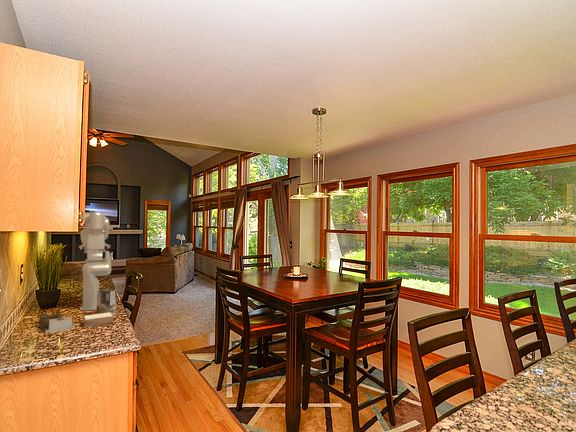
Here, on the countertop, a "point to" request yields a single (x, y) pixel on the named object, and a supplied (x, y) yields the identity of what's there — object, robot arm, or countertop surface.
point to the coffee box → (106, 302)
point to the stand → (97, 319)
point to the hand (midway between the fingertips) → (94, 259)
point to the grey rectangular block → (47, 319)
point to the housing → (60, 324)
